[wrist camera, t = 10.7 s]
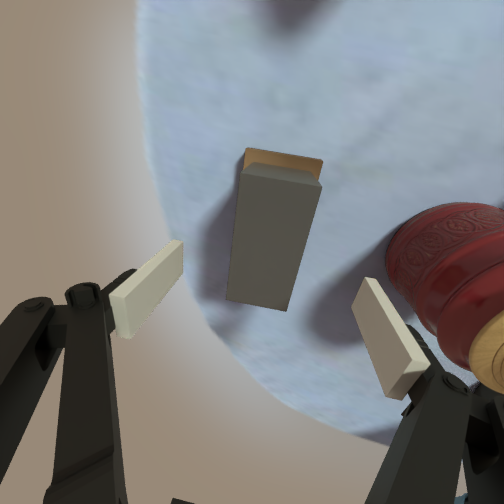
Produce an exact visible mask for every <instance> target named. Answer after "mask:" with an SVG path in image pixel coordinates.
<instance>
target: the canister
mask: <svg viewBox="0 0 504 504" xmlns="http://www.w3.org/2000/svg"><path fill="white" fill-rule="evenodd" d="M385 264H386V269H387V272H388V276H389V279H390V281H391V283H392V284H393V286H394V287H395V288H396V290H397V291H398V292H399V293H400V294H401V295H402V296H404V298H405V299H406V300H407V302H408V303H409V304H410V306H411V307H412V308H413V310H414V311H415V312H416V314H417V316H418V318H419V320H420V322H421V323H422V325H423V326H424V327H425V328H426V329H427V330H428V331H429V332H430V333H431V334H433V335H434V336H436V337H437V341H438V344H439V347H440V349H441V350H442V352H443V353H444V355H445V356H446V357H447V358H448V359H449V360H450V361H452V362H453V363H454V364H456V365H457V366H459V367H461V368H463V369H465V370H468V371H470V372H473V374H474V375H475V377H476V378H477V379H478V380H479V381H480V382H481V383H482V384H484V385H485V386H487V387H488V388H490V389H492V390H494V391H496V392H499V393H502V394H504V210H502V209H500V208H496V207H493V206H490V205H486V204H481V203H468V202H455V203H447V204H443V205H439V206H436V207H433V208H430V209H428V210H426V211H424V212H422V213H420V214H418V215H416V216H415V217H413V218H412V219H411V220H409V221H408V222H407V223H405V224H404V225H403V226H402V227H401V228H400V229H399V230H398V232H397V233H396V234H395V235H394V237H393V238H392V240H391V242H390V244H389V246H388V249H387V252H386V258H385Z"/></svg>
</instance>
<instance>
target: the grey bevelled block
mask: <svg viewBox="0 0 504 504" xmlns="http://www.w3.org/2000/svg"><path fill="white" fill-rule="evenodd" d="M321 190H322V186H321V184H320V183H319V182H318V181H317V179H316V178H315V177H314V175H313V174H312V173H311V172H310V171H305V170H299V169H293V168H287V167H281V166H275V165H269V164H263V163H258V162H252V163H251V164H250V165H249V166H248V167H246V168H245V169H244V170H243V171H242V172H240V179H239V188H238V197H237V206H236V214H235V223H234V232H233V241H232V250H231V259H230V267H229V276H228V285H227V294H226V300H230V301H235V302H240V303H245V304H250V305H255V306H260V307H265V308H270V309H275V310H280V311H285V312H286V311H287V308H288V304H289V301H290V297H291V294H292V290H293V287H294V283H295V280H296V276H297V273H298V270H299V266H300V263H301V259H302V256H303V252H304V249H305V245H306V242H307V238H308V235H309V232H310V228H311V225H312V221H313V218H314V214H315V211H316V207H317V204H318V200H319V197H320V193H321Z"/></svg>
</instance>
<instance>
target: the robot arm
mask: <svg viewBox="0 0 504 504" xmlns="http://www.w3.org/2000/svg"><path fill="white" fill-rule="evenodd" d="M182 274H183V241H179V240H172V241H171V242H170V243H168V244H167V245H166V246H165V247H164V248H163V249H161V250H160V251H159V252H158V253H157V254H156V255H154V256H153V257H152V258H151V259H150V260H149V261H147V262H146V263H145V264H144V265H143V266H142V267H141V268H140V269H138V270H137V269H130V270H128V271H126V272H124V273H122V274H121V275H120V276H119V277H118V278H116V279H115V280H114V281H113V282H111V283H110V284H109V285H107V286H106V287H105V288H104V289H102V290H100V287H99V285H98V284H96V283H91V282H87V283H80V284H76V285H74V286H72V287H70V288H69V289H68V290H67V291H66V292H65V297H66V301H67V304H68V305H54V304H53V301H52V300H51V298H48V297H36V298H32V299H28V300H25V301H24V302H22V303H20V304H18V305H17V306H16V307H15V308H14V309H13V310H12V312H11V313H10V314H9V315H8V316H7V318H6V319H5V320H4V322H3V323H2V324H1V325H0V484H1V482H2V480H3V477H4V476H5V473H6V471H7V469H8V467H9V465H10V462H11V460H12V458H13V456H14V454H15V451H16V449H17V447H18V445H19V443H20V441H21V439H22V436H23V434H24V432H25V430H26V428H27V425H28V423H29V421H30V419H31V416H32V415H33V412H34V410H35V408H36V406H37V404H38V402H39V399H40V397H41V395H42V393H43V390H44V388H45V386H46V384H47V382H48V379H49V377H50V375H51V373H52V371H53V369H54V367H55V364H56V362H57V360H58V358H59V356H60V354H61V351H62V349H63V348H65V355H64V364H63V375H62V385H61V397H60V406H59V417H58V427H57V438H56V448H55V460H54V469H53V478H52V482H51V485H50V486H49V488H48V489H47V490H46V493H45V496H44V499H43V504H128V501H127V494H126V487H125V478H124V468H123V458H122V449H121V439H120V428H119V418H118V408H117V398H116V388H115V378H114V368H113V357H112V348H111V338H110V333H111V332H112V331H113V330H114V329H115V330H116V335H117V336H118V337H122V338H127V339H131V338H132V337H133V336H134V334H135V333H136V332H137V331H138V329H139V328H140V327H141V326H142V324H143V323H144V322H145V321H146V319H147V318H148V317H149V315H150V314H151V313H152V312H153V310H154V309H155V308H156V307H157V305H158V304H159V303H160V301H161V300H162V299H163V298H164V296H165V295H166V294H167V293H168V291H169V290H170V289H171V288H172V286H173V285H174V284H175V282H176V281H177V280H178V279H179V277H180V276H181V275H182ZM351 309H352V311H353V314H354V316H355V319H356V321H357V324H358V327H359V329H360V332H361V334H362V337H363V340H364V342H365V345H366V347H367V350H368V353H369V355H370V358H371V360H372V363H373V365H374V368H375V371H376V373H377V376H378V378H379V381H380V384H381V386H382V389H383V391H384V394H385V397H388V398H392V399H397V400H401V401H402V400H403V398H404V397H405V396H406V395H407V393H408V395H409V397H410V399H411V401H412V402H411V403H410V404H409V405H408V406H407V408H406V409H405V410H404V411H403V413H402V414H401V415H402V416H403V418H402V421H401V423H400V425H399V427H398V430H397V432H396V434H395V436H394V439H393V441H392V443H391V445H390V448H389V450H388V452H387V454H386V457H385V459H384V461H383V463H382V465H381V468H380V470H379V472H378V474H377V477H376V479H375V481H374V483H373V486H372V488H371V490H370V492H369V495H368V497H367V499H366V501H365V504H504V394H502V393H499V392H496V391H494V390H492V389H490V388H488V387H487V386H485V385H484V384H481V385H480V386H479V387H478V388H477V389H476V391H475V393H472V392H471V391H470V389H469V388H468V386H467V385H466V384H465V383H464V382H463V381H462V380H460V379H459V378H458V377H456V376H455V375H453V374H451V373H449V372H446V371H445V370H444V369H443V367H442V366H441V364H440V363H439V361H438V360H437V358H436V357H435V356H434V354H433V353H432V351H431V350H430V349H429V347H428V345H427V344H426V343H425V342H424V340H423V338H422V337H421V335H420V334H419V332H417V331H416V330H415V329H414V328H413V327H412V326H411V325H407V324H405V323H404V322H403V320H402V319H401V317H400V316H399V314H398V313H397V311H396V309H395V308H394V306H393V305H392V303H391V302H390V300H389V299H388V297H387V296H386V294H385V292H384V291H383V289H382V288H381V286H380V285H379V283H378V282H377V280H376V279H373V278H368V277H364V280H363V282H362V284H361V286H360V288H359V291H358V293H357V295H356V297H355V299H354V302H353V304H352V306H351ZM462 460H463V467H464V472H465V479H466V486H467V492H468V493H465V494H464V495H462V496H459V497H455V496H456V489H457V484H458V478H459V472H460V466H461V461H462ZM171 504H194V503H190V502H186V501H183V500H179V499H175V498H173V499H172V502H171Z"/></svg>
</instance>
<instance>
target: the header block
mask: <svg viewBox="0 0 504 504" xmlns="http://www.w3.org/2000/svg"><path fill="white" fill-rule="evenodd" d="M252 162H258V163H263V164H269V165H275V166H281V167H287V168H293V169H299V170H305V171H310V172H311V173H312V174H313V175H314V177H315V178H316V179H317V181H318V179H319V175H320V172H321V168H322V164H323V161H322V160H321V159H315V158H309V157H303V156H297V155H291V154H285V153H279V152H273V151H267V150H261V149H255V148H246V150H245V158H244V167H243V170H244V169H245V168H246V167H248V166H249V165H250V164H251V163H252Z"/></svg>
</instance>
